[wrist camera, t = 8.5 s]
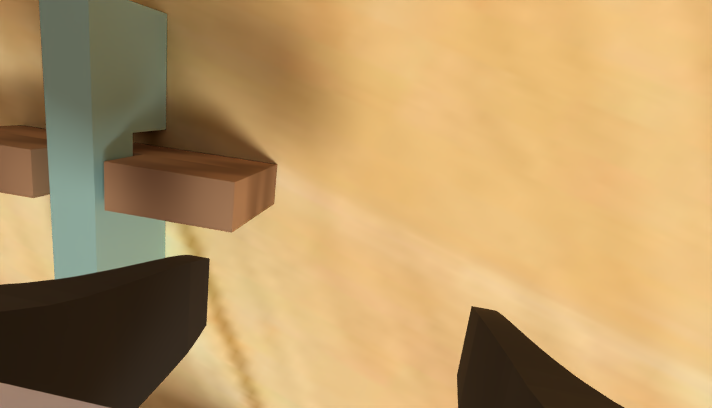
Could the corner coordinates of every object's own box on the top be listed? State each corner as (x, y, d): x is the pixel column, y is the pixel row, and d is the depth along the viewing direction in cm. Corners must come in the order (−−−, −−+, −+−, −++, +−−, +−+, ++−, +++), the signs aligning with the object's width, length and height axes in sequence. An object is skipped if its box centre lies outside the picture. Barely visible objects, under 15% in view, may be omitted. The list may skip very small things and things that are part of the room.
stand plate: (277, 164, 21) (234, 182, 16) (273, 203, 22) (231, 232, 17) (21, 125, 23) (-87, 131, 18) (23, 162, 23) (-81, 178, 18)
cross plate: (164, 287, 24) (98, 334, 19) (130, 281, 24) (57, 326, 19) (167, 13, 20) (87, -15, 15) (127, 9, 21) (37, -20, 16)
